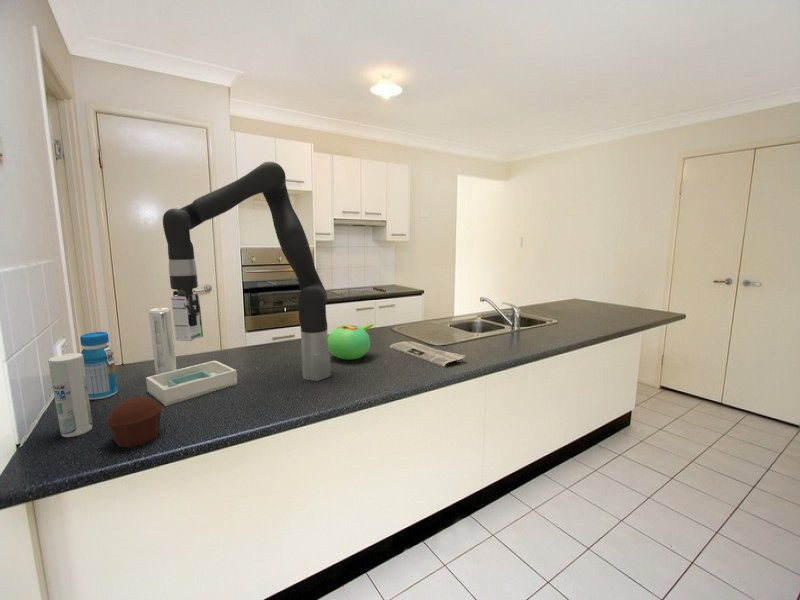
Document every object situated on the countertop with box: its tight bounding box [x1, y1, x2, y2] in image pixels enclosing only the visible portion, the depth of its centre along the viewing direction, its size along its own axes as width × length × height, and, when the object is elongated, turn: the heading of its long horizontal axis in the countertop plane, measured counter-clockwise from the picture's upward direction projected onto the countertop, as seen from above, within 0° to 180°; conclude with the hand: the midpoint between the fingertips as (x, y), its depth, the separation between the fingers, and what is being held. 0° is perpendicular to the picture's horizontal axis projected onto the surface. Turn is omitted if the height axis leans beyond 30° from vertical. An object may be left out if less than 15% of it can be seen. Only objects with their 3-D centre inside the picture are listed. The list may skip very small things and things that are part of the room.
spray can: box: [48, 352, 93, 438], centre depth 94 cm, size 6×6×20 cm
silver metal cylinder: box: [148, 307, 178, 375], centre depth 132 cm, size 6×6×25 cm
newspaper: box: [389, 340, 466, 366], centre depth 159 cm, size 35×12×4 cm, turn 40°
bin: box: [145, 360, 238, 407], centre depth 123 cm, size 16×22×5 cm
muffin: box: [104, 396, 163, 448], centre depth 92 cm, size 12×11×10 cm
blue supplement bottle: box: [79, 331, 119, 401], centre depth 116 cm, size 8×8×20 cm
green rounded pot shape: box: [328, 323, 374, 361], centre depth 154 cm, size 18×17×15 cm
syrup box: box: [170, 294, 204, 342], centre depth 120 cm, size 6×6×14 cm
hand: (188, 324), depth 120 cm, fingers closed on syrup box, 7 cm apart
